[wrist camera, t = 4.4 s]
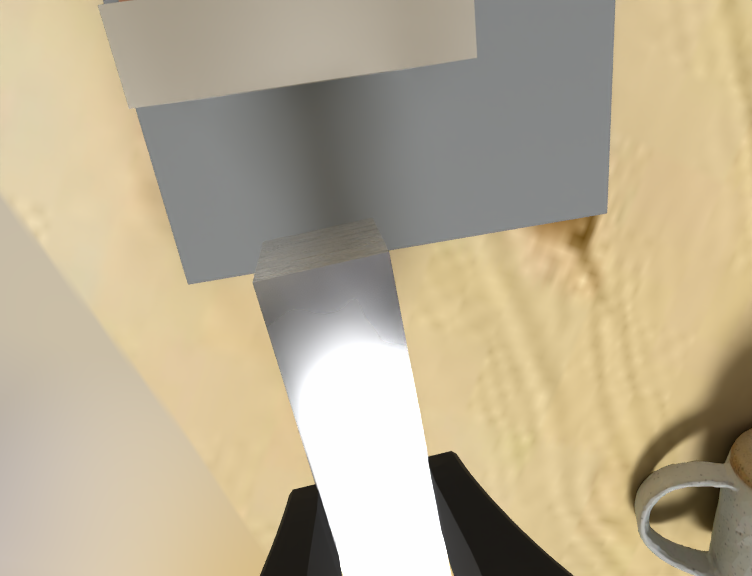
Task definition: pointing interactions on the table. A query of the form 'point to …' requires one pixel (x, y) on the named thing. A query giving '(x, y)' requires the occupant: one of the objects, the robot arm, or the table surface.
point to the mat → (399, 144)
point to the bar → (353, 395)
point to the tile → (275, 43)
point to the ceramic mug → (732, 519)
